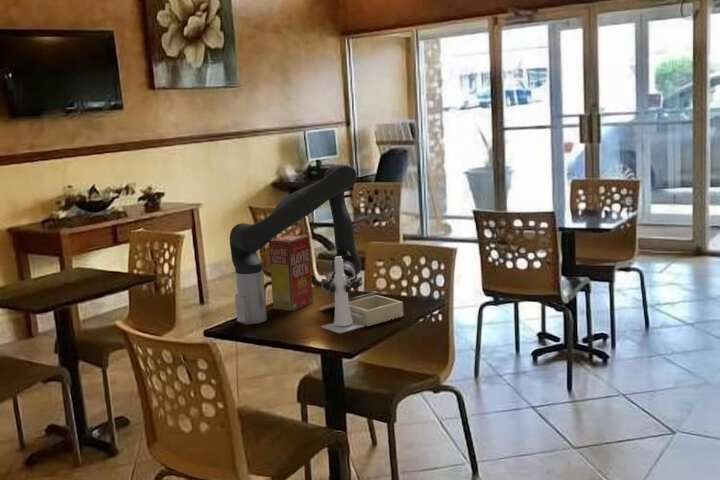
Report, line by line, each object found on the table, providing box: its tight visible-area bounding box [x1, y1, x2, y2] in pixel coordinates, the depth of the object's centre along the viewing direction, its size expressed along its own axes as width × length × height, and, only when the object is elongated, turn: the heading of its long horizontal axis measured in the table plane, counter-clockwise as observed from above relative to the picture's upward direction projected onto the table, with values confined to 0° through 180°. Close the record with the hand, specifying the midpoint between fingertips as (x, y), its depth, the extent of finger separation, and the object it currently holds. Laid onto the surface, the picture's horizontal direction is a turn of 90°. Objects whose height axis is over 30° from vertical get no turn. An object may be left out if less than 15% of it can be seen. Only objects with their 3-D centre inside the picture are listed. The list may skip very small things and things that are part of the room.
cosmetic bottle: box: [333, 255, 353, 326], centre depth 249 cm, size 6×6×22 cm
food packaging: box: [268, 233, 314, 312], centre depth 278 cm, size 13×9×25 cm
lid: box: [319, 292, 374, 311], centre depth 271 cm, size 15×13×1 cm
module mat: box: [320, 322, 366, 334], centre depth 251 cm, size 10×10×1 cm
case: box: [348, 292, 404, 327], centre depth 259 cm, size 16×15×6 cm
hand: (339, 289), depth 246 cm, fingers closed on cosmetic bottle, 4 cm apart
